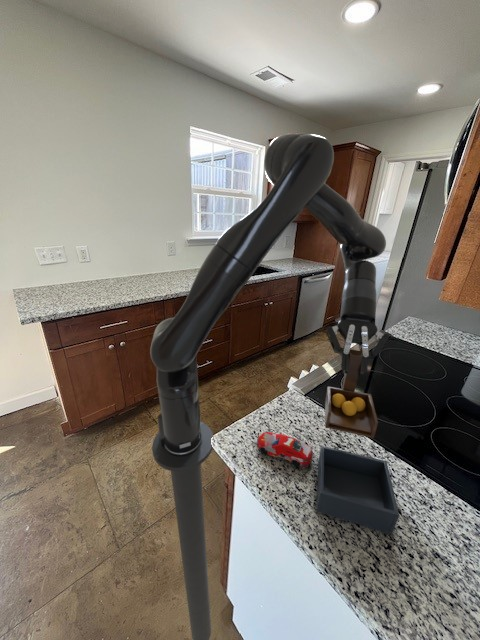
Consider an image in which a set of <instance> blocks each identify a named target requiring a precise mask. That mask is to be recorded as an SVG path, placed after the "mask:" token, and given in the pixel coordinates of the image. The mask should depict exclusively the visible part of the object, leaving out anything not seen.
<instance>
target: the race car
mask: <svg viewBox="0 0 480 640" xmlns="http://www.w3.org/2000/svg"><path fill="white" fill-rule="evenodd" d="M256 443H257V449H258V451H260V453H261V454H263V455H268V456H271V457H273V458H276V459H278V460H281V461H284V462H286V463H289V464H292V466H293V467H296V468H298V467H300V468H308V467H309V466H310V465H311V463H312V459H313V451H312V450H313V449H312V447H311V446H310V445H309V444H306V443H305V442H303V441H301V440H299V439H297V438H294V437H291V436H289V435H286V434H282V432H280V433H279V434H278V433H275V432H271V431H265V432H263V433H261V434H260V435H259V436H258V438H257V441H256Z"/></svg>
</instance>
